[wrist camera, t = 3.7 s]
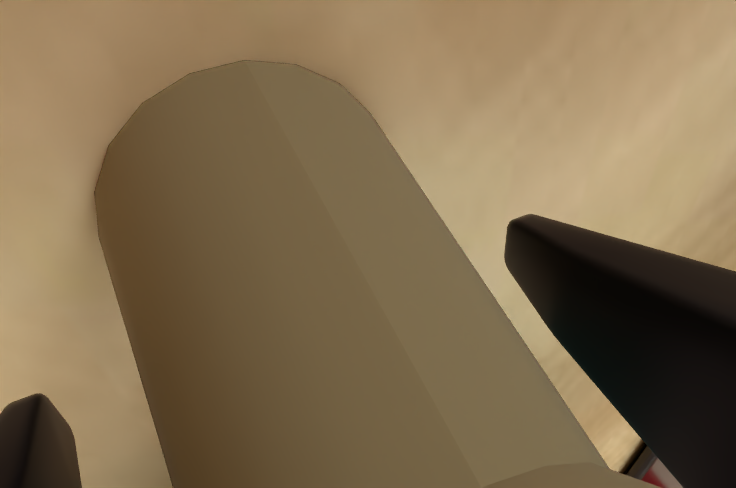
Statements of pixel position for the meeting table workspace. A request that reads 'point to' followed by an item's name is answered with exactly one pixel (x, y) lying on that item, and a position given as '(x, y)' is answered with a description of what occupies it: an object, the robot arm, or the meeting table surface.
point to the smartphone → (652, 471)
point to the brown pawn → (314, 303)
